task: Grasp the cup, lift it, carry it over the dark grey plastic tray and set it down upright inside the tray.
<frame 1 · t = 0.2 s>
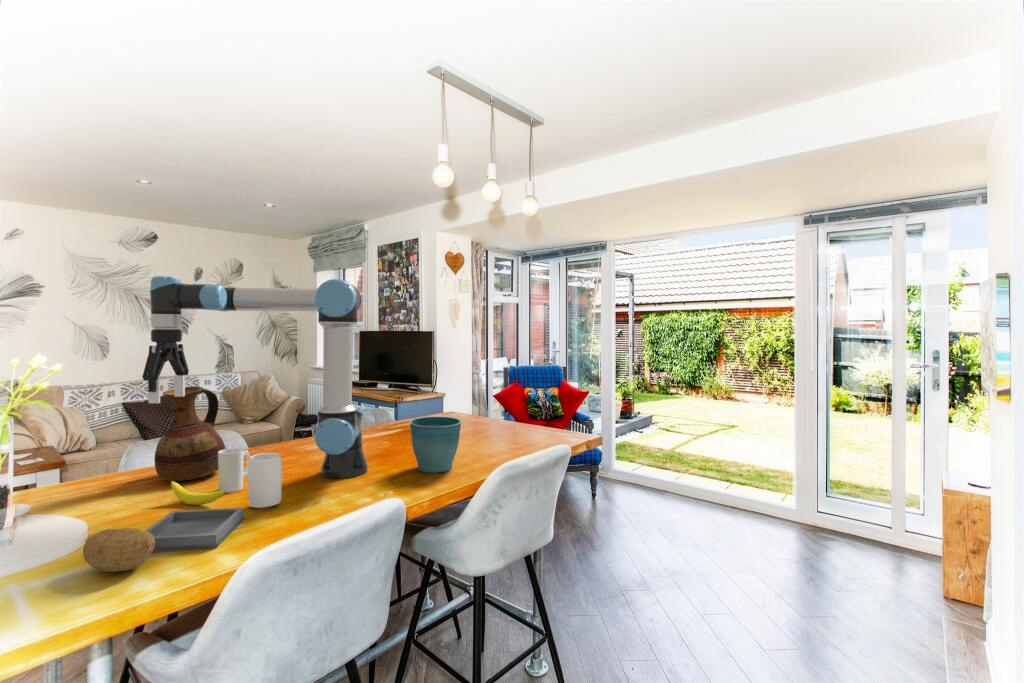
hand: (167, 399, 148), 28 cm above the table, fingers open, 13 cm apart
banana: (197, 505, 138), on the table
tray: (192, 534, 119), on the table
cup: (265, 507, 137), on the table
ceramic pitcher: (192, 476, 164), on the table
mug: (236, 488, 153), on the table
flower pot: (435, 469, 175), on the table
potato: (118, 570, 102), on the table
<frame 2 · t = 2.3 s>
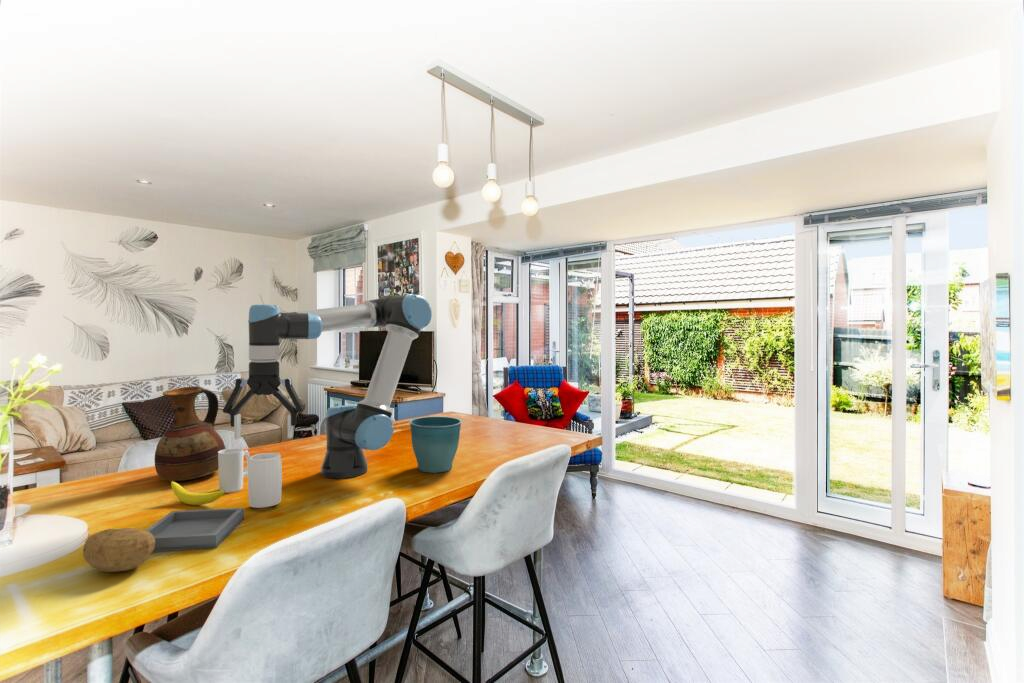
hand: (264, 437, 136), 19 cm above the table, fingers open, 13 cm apart
nothing on the table moved.
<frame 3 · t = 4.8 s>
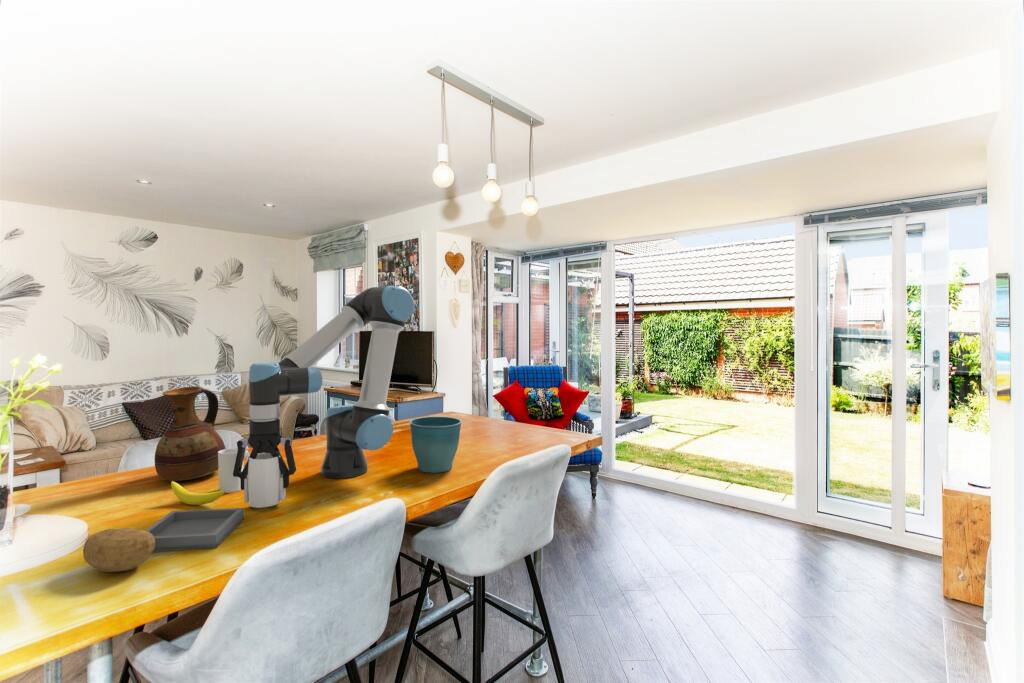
hand: (265, 500, 137), 2 cm above the table, fingers closed on cup, 8 cm apart
cup: (265, 507, 137), on the table, touching gripper
everything else where it was.
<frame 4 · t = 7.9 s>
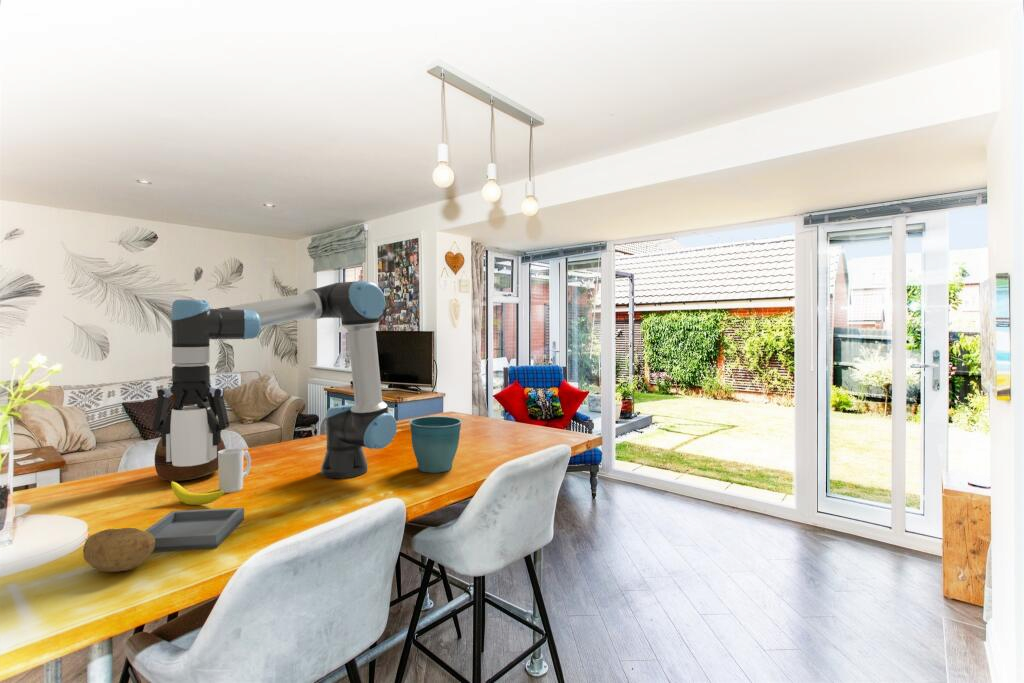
hand: (192, 459, 118), 18 cm above the table, fingers closed on cup, 8 cm apart
cup: (192, 467, 118), point 16 cm above the table, touching gripper
everything else where it was.
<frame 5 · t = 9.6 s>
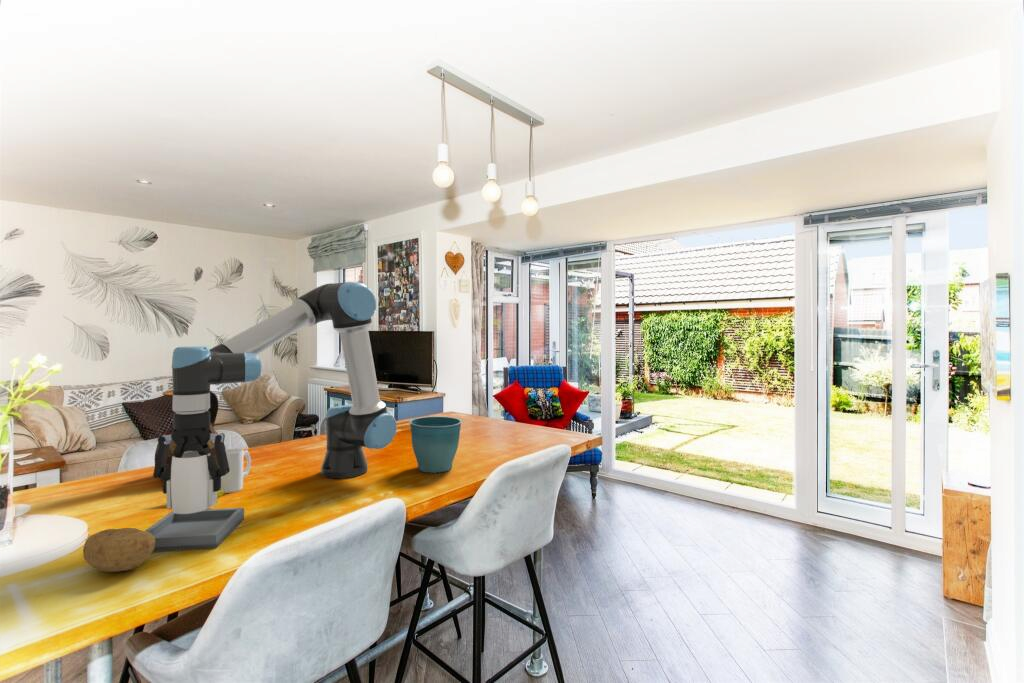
hand: (192, 505, 118), 7 cm above the table, fingers closed on cup, 8 cm apart
cup: (192, 513, 118), point 5 cm above the table, touching gripper
everything else where it was.
when the fingers open (5 cm above the table, at t = 11.0 s): cup drops 2 cm, resting on tray.
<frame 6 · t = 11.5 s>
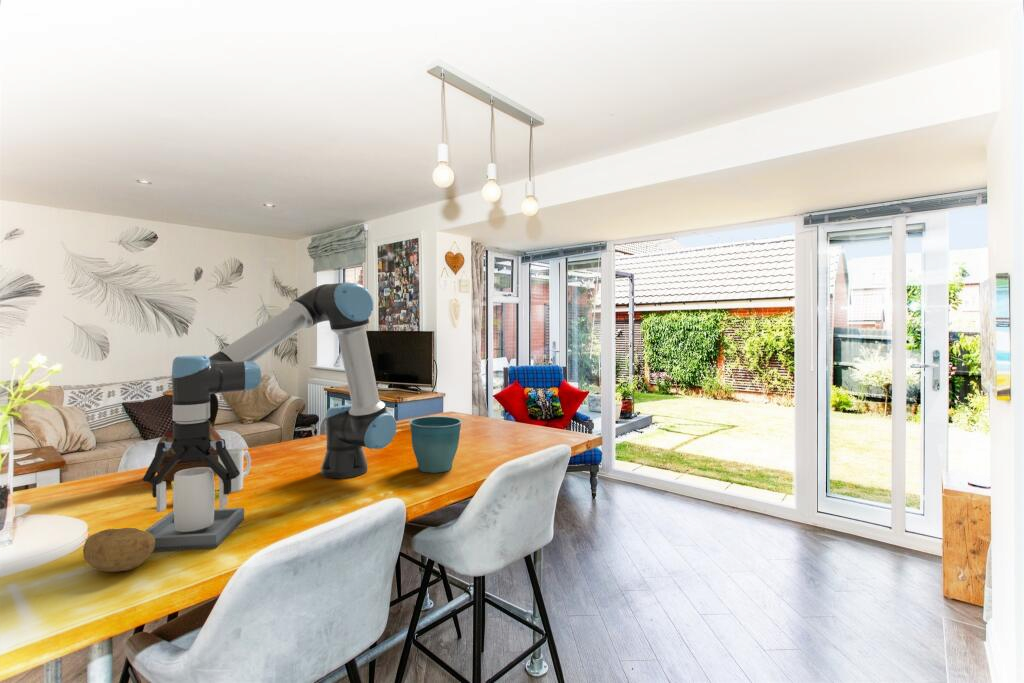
hand: (192, 509, 118), 6 cm above the table, fingers open, 13 cm apart
cup: (194, 531, 119), point 1 cm above the table, touching tray
everything else where it was.
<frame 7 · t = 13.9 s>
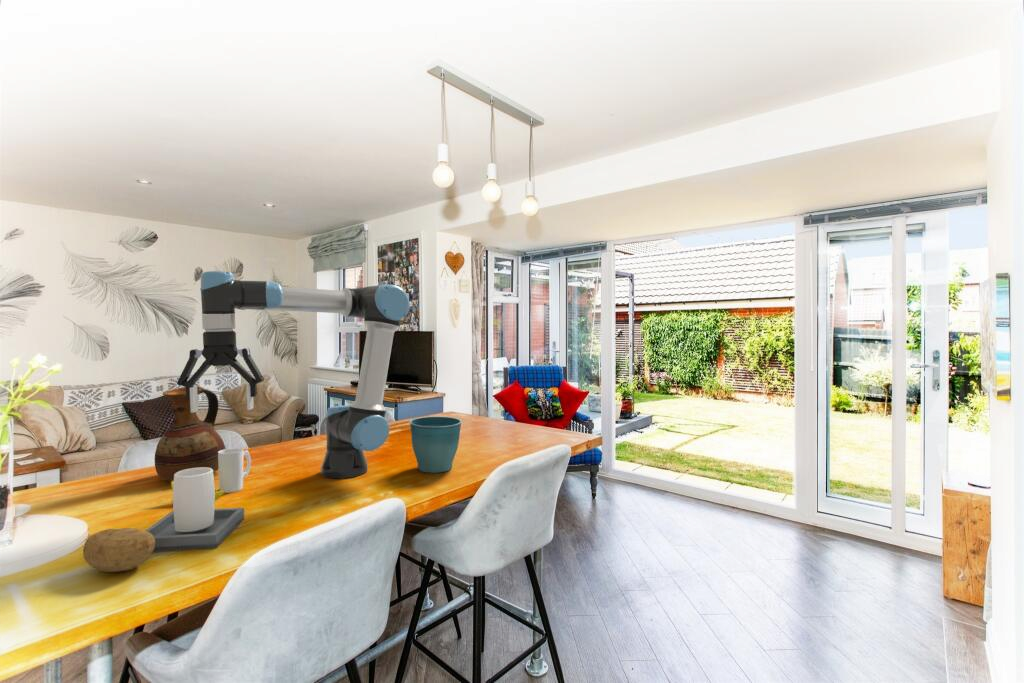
hand: (222, 410, 132), 28 cm above the table, fingers open, 13 cm apart
nothing on the table moved.
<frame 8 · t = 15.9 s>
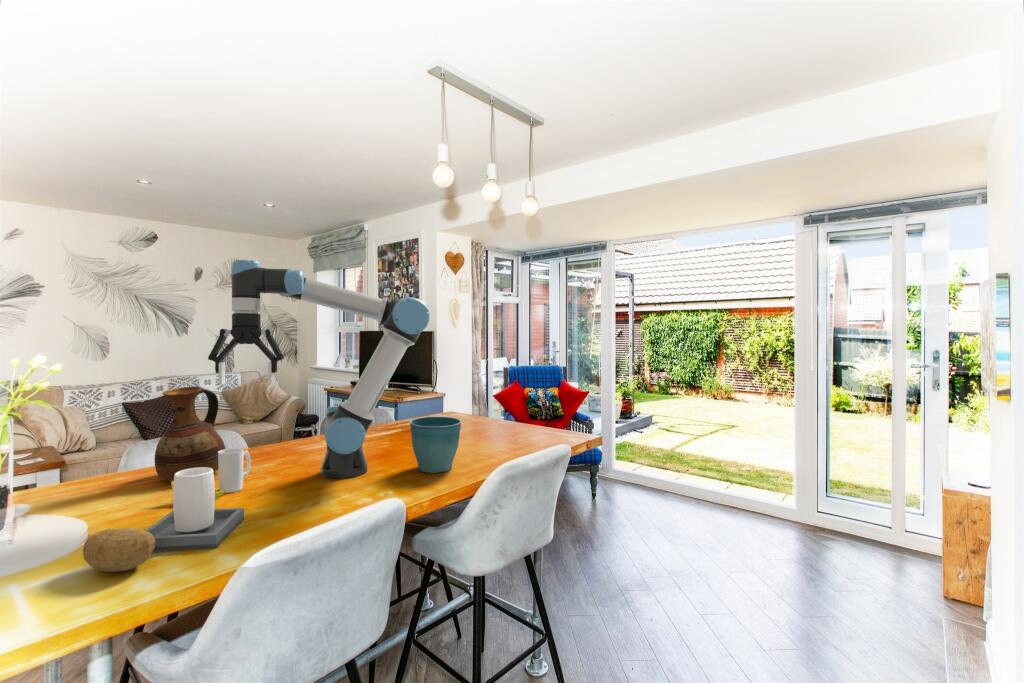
hand: (246, 384, 148), 33 cm above the table, fingers open, 13 cm apart
nothing on the table moved.
at the end: cup inside the target area on the tray (0.4 cm from its centre), point 0.8 cm above the tray's base; cup tilted 0°; cup touching tray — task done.
